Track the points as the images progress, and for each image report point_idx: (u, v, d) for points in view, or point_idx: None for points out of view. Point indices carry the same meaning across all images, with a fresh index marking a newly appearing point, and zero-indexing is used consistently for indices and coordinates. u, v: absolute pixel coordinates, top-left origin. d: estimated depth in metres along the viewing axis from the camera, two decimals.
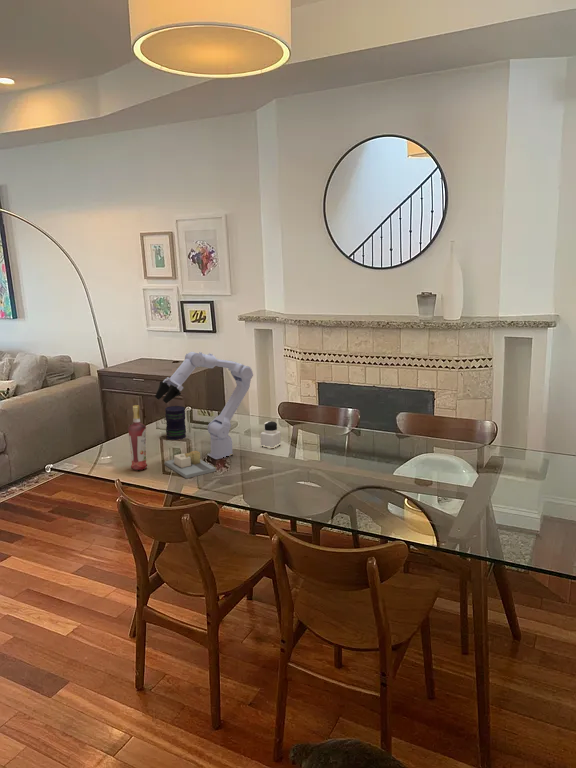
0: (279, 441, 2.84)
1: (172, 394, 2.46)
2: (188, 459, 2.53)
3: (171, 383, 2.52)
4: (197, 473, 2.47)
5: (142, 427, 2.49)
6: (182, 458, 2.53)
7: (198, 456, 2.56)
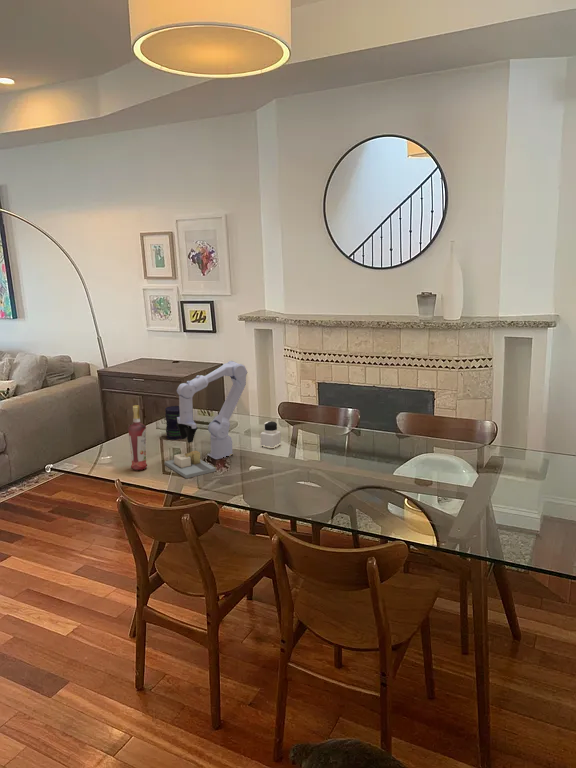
0: (279, 441, 2.84)
1: (191, 432, 2.58)
2: (188, 459, 2.53)
3: None
4: (197, 473, 2.47)
5: (142, 427, 2.49)
6: (182, 458, 2.53)
7: (198, 456, 2.56)
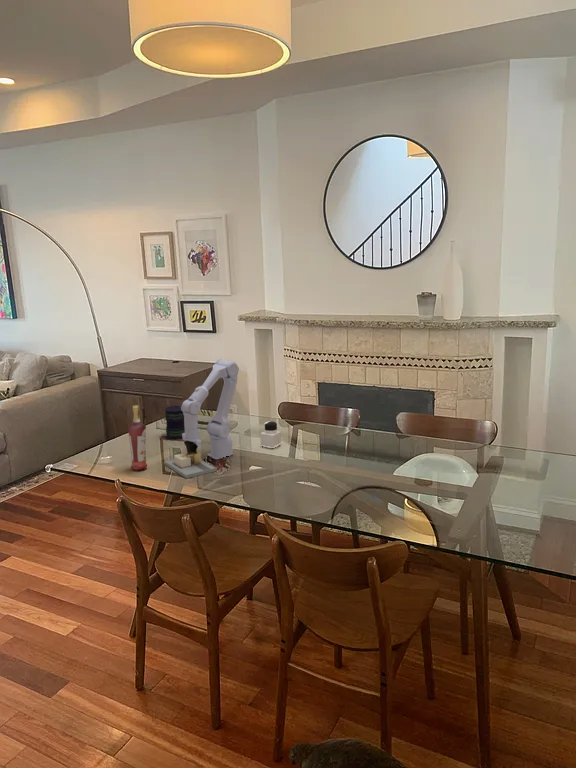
0: (279, 441, 2.84)
1: (193, 447, 2.58)
2: (188, 459, 2.53)
3: None
4: (197, 473, 2.47)
5: (142, 427, 2.49)
6: (182, 458, 2.53)
7: (199, 456, 2.56)
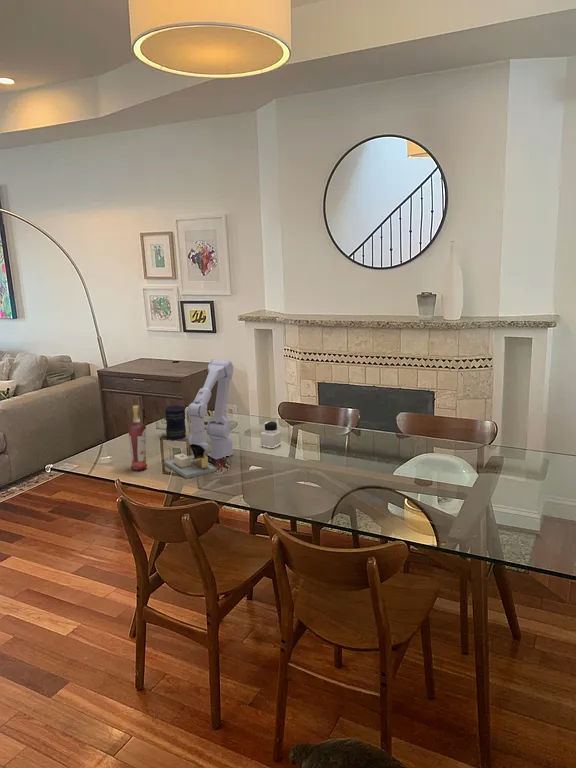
0: (279, 441, 2.84)
1: (200, 451, 2.53)
2: (188, 459, 2.53)
3: None
4: (197, 473, 2.47)
5: (142, 427, 2.49)
6: (182, 458, 2.53)
7: (206, 460, 2.51)
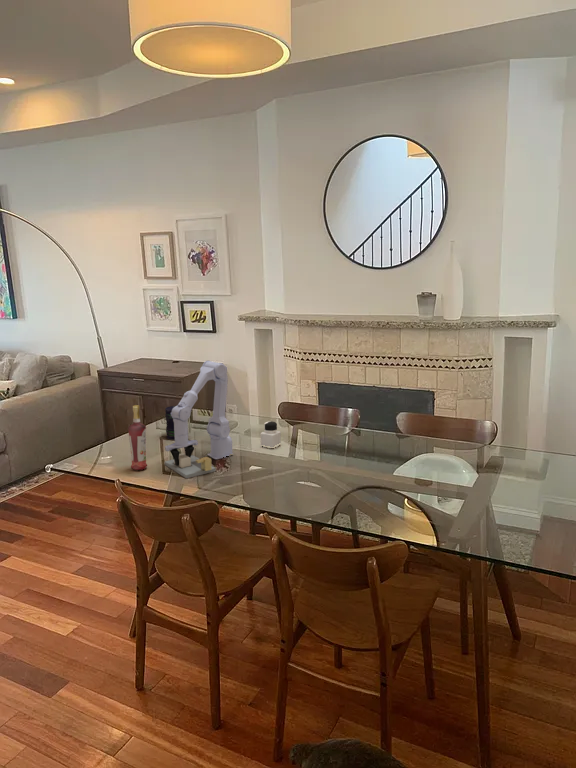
0: (279, 441, 2.84)
1: None
2: (188, 459, 2.53)
3: None
4: (197, 473, 2.47)
5: (142, 427, 2.49)
6: (182, 458, 2.53)
7: (209, 462, 2.48)
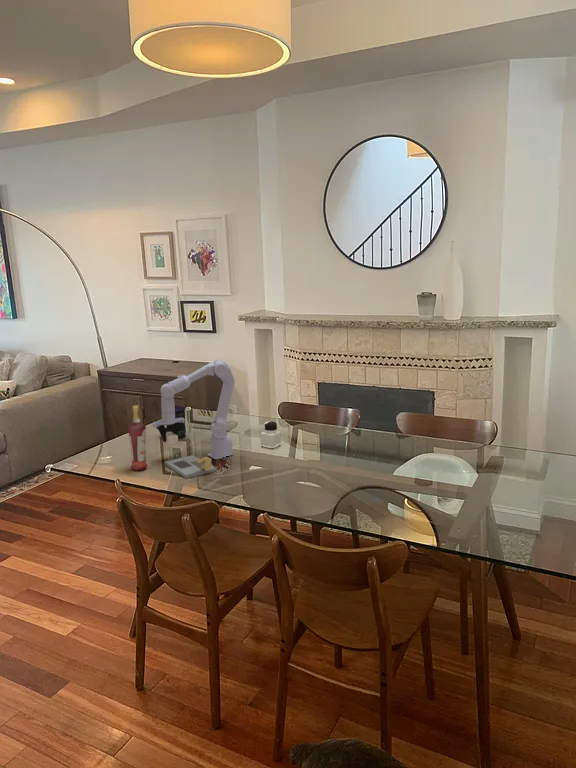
0: (279, 441, 2.84)
1: None
2: (175, 437, 2.61)
3: None
4: (197, 473, 2.47)
5: (142, 427, 2.49)
6: (170, 436, 2.61)
7: (209, 462, 2.48)
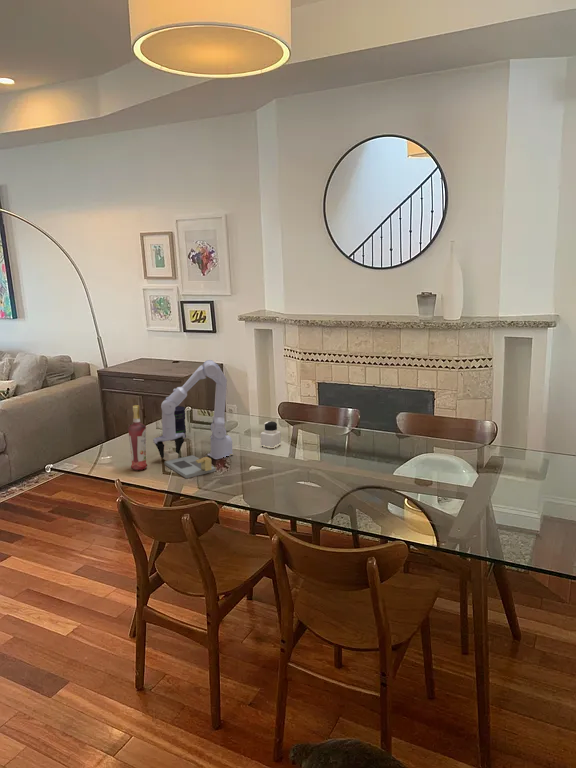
0: (279, 441, 2.84)
1: None
2: (176, 455, 2.63)
3: None
4: (197, 473, 2.47)
5: (142, 427, 2.49)
6: (170, 454, 2.63)
7: (209, 462, 2.48)
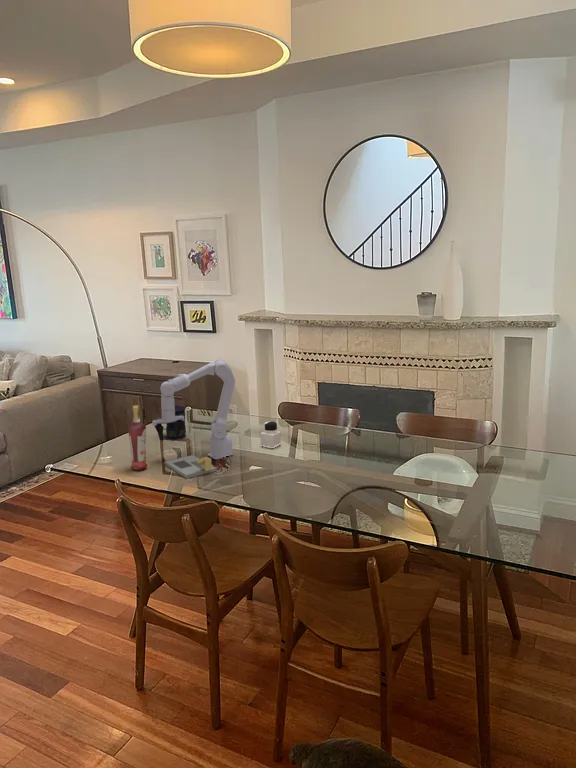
0: (279, 441, 2.84)
1: None
2: (175, 455, 2.63)
3: None
4: (197, 473, 2.47)
5: (142, 427, 2.49)
6: (169, 454, 2.63)
7: (209, 462, 2.48)
